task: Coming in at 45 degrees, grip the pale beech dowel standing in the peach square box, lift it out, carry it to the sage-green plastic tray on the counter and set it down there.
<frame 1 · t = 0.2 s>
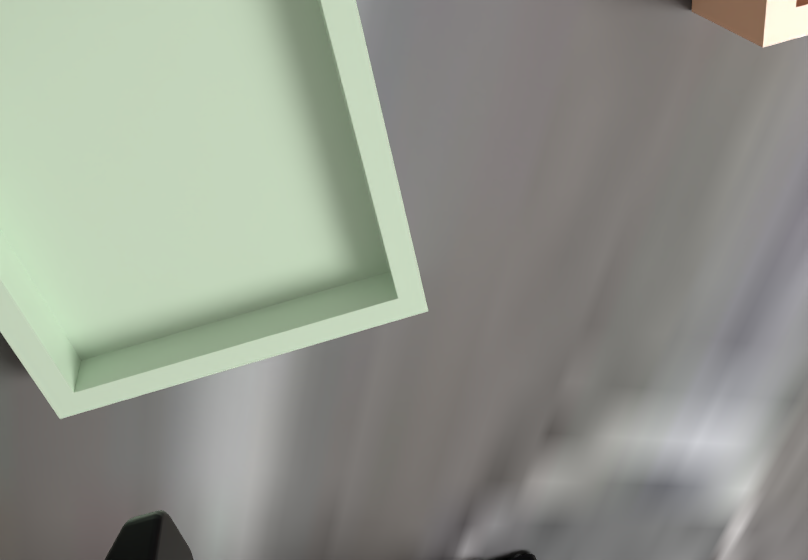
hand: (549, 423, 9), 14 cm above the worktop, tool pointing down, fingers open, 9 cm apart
sage tray: (150, 103, 20), on the worktop
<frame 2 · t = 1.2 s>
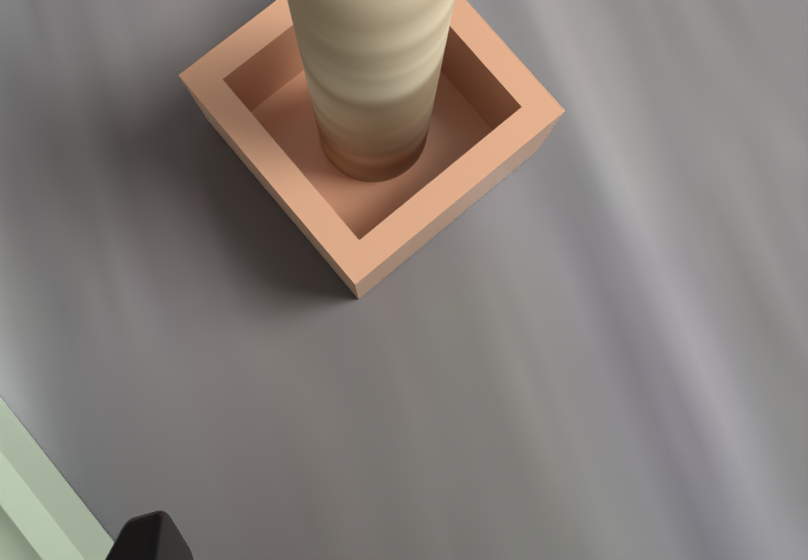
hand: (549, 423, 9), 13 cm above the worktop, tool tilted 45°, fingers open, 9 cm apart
peach square box: (373, 136, 23), on the worktop
dowel: (373, 129, 22), point 1 cm above the worktop, touching peach square box
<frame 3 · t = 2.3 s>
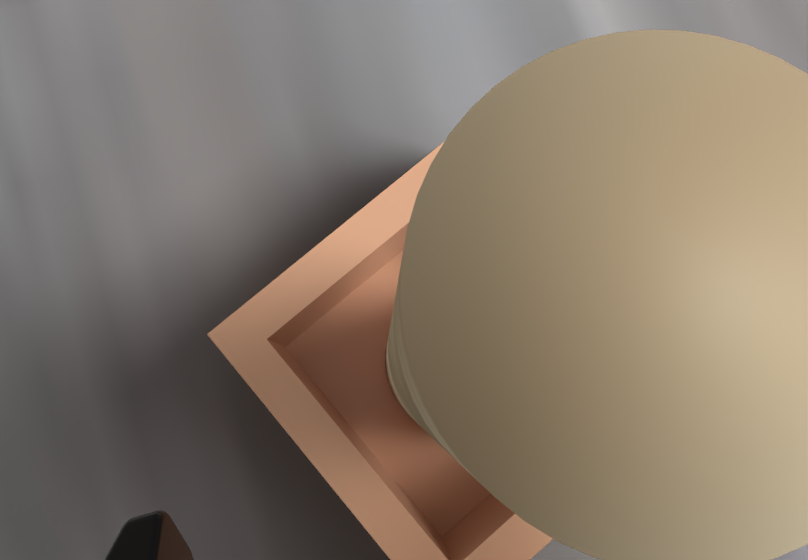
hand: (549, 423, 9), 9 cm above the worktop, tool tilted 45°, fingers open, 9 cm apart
peach square box: (452, 362, 18), on the worktop
dowel: (454, 361, 17), point 1 cm above the worktop, touching peach square box
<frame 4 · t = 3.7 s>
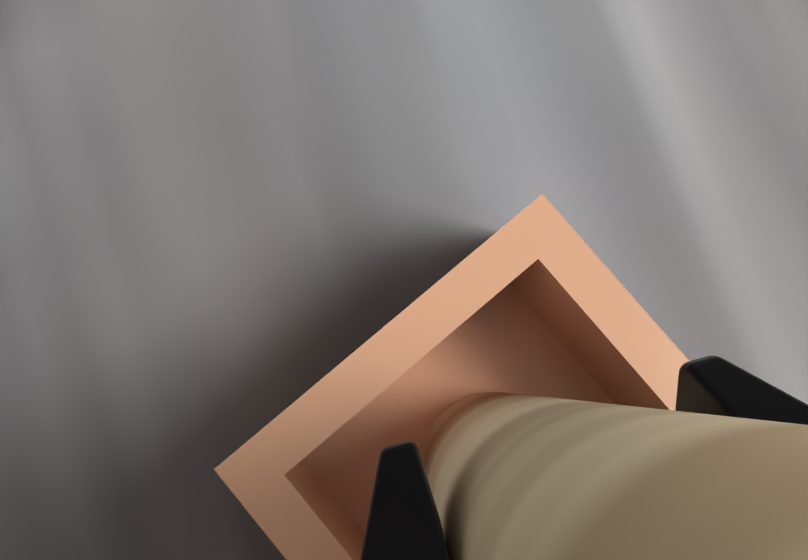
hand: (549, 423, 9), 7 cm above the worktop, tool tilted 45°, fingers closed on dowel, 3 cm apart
peach square box: (491, 468, 16), on the worktop
dowel: (495, 472, 15), point 1 cm above the worktop, touching gripper, peach square box
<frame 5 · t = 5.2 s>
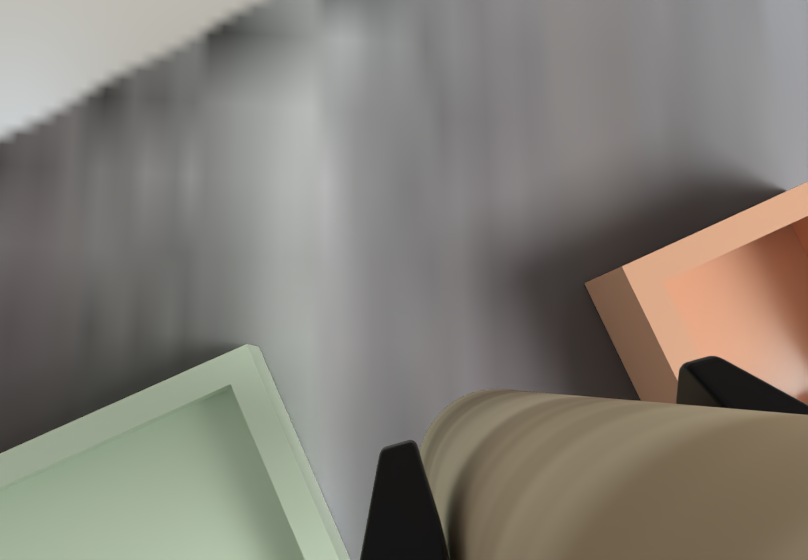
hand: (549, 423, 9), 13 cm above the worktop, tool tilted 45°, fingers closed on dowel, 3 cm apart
peach square box: (740, 342, 23), on the worktop
dowel: (497, 469, 15), point 7 cm above the worktop, touching gripper
when the fingers open (8 cm above the worktop, at t = 7.1 s): dowel stays where it is, resting on sage tray.
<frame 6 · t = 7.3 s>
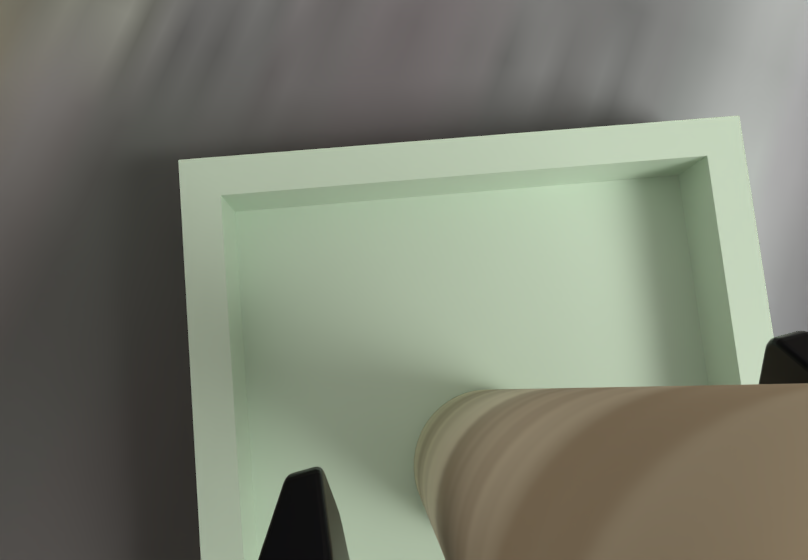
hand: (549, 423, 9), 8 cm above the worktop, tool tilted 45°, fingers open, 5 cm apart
sage tray: (489, 509, 17), on the worktop
dowel: (488, 465, 16), point 1 cm above the worktop, touching sage tray
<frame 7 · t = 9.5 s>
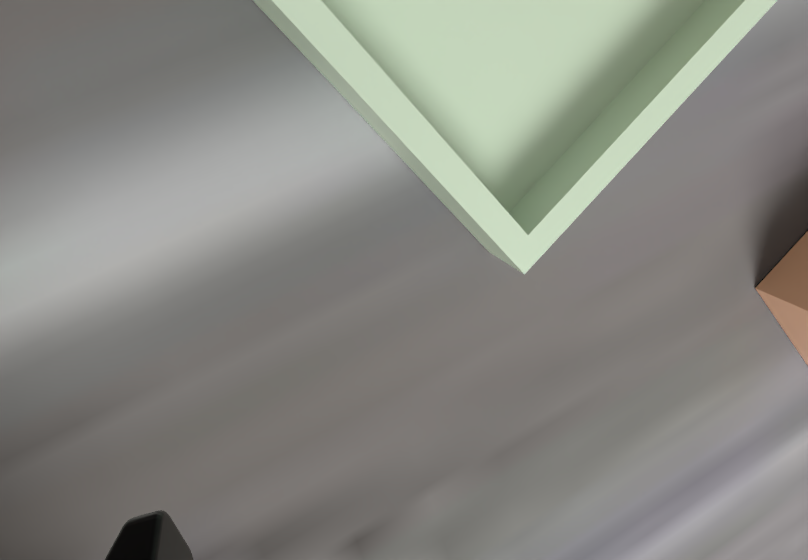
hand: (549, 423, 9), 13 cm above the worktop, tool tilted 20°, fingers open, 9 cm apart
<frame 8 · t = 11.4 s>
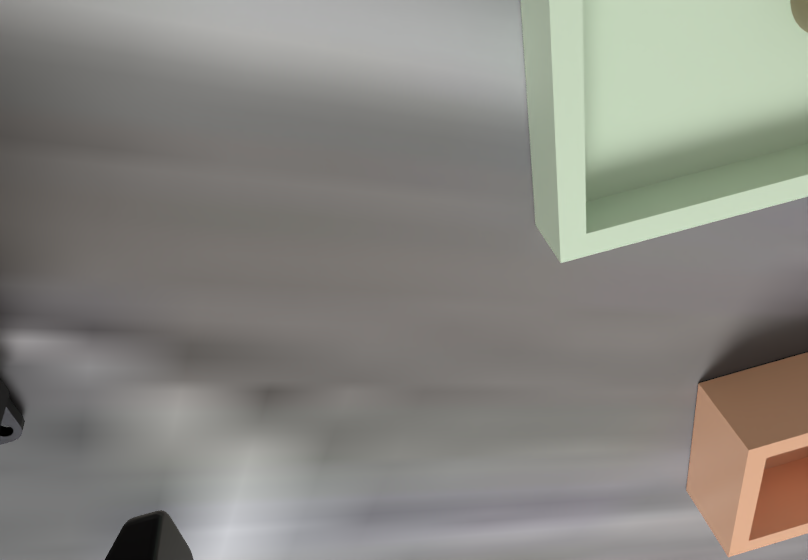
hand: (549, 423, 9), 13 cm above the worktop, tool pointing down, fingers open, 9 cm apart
peach square box: (769, 417, 32), on the worktop
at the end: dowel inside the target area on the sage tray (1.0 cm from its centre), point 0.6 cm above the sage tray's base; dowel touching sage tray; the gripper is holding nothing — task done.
